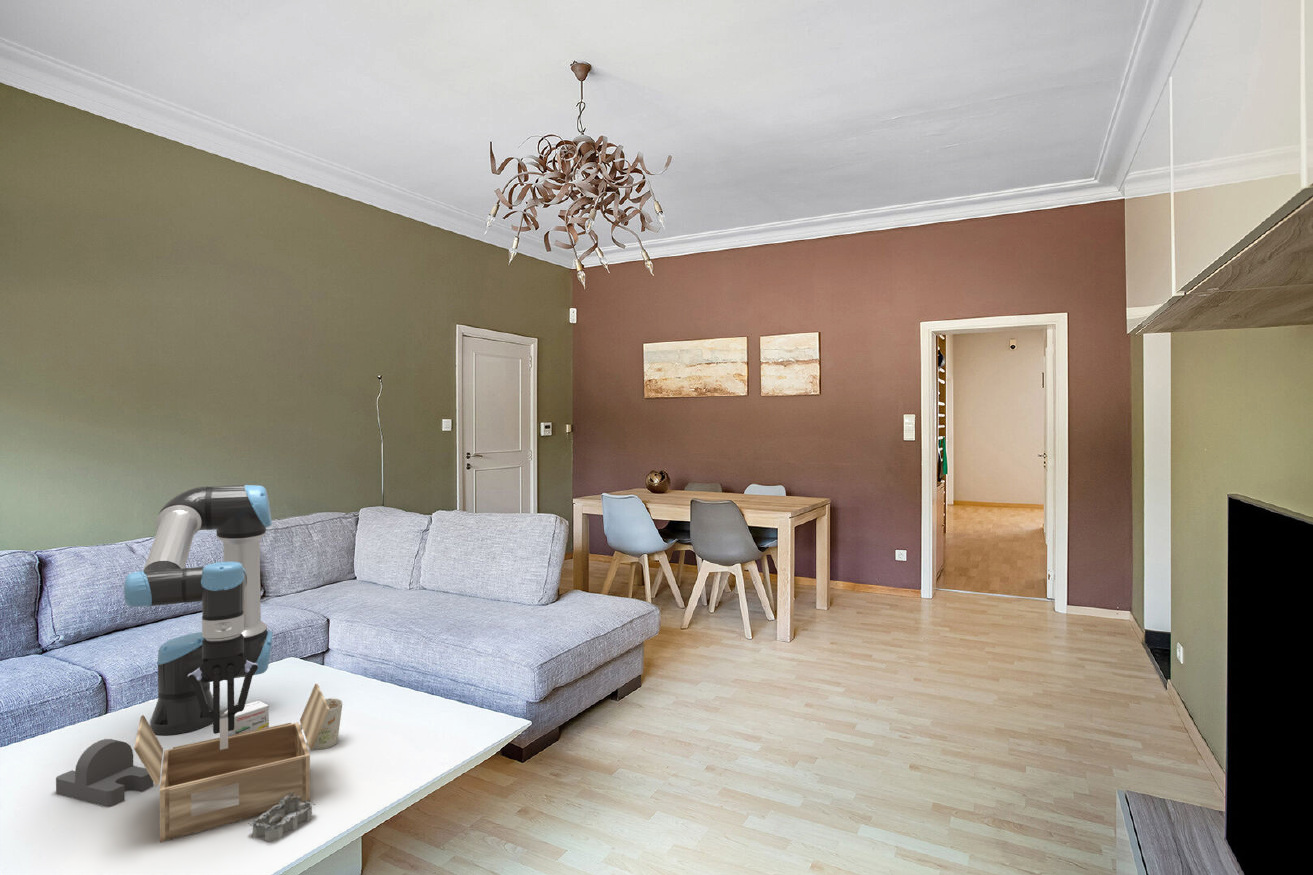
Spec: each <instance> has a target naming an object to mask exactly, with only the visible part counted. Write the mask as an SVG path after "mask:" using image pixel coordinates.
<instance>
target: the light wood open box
mask: <svg viewBox="0 0 1313 875" xmlns="http://www.w3.org/2000/svg"><path fill="white" fill-rule="evenodd" d="M306 742H307V741H306V739H305V738H304V735H303V730H302V731H301V728H300V721H299V722H294V723H292V722H288V723H282V724H277V725H273V726H269V727H268V728H263V729H258V730H253V731H249V732H244V733H239V734H234V735H230V736H228V748H227V749H222V750H220V737H216V738H211V739H206V740H202V741H196V742H192V743H188V744H183V745H177V746H173V747H172V748H171V749H170V748H169V749H163V755H162V764H161V773H160V782H159V785H160V786H159V842H160V843H162V842H166V841H169V840H173V839H177V838H182V837H185V836H189V835H193V834H195V833H200V832H203V831H207V830H210V829H214V828H218V827H222V826H225V825H229V824H233V823H237V822H240V821H241V822H242V821H245V820H249V819H252V818H255V817H259V816H260V815H262V814H263V813H266V812H267V811H268V810H270V809H271V808H272V807H273V806H275V805H277V804H278V803H279V801H280V800H281V799H282V798H283V797H285V796H286V795H288V794H290V793H292V792H294V793H293V794H295V795H296V796H299V797H300V798H301V800H302V802H303V803H305V801H306V800H307V801H308V802H309V803H311V755H310V754H311V753H310V751H309V747H308V746H307V745H306Z"/></svg>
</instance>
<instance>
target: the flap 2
mask: <svg viewBox="0 0 1313 875" xmlns="http://www.w3.org/2000/svg"><path fill="white" fill-rule="evenodd" d="M325 699H326V698H325V696H324V694H323V692H322V690H321V688H320V686H319V683H315V684H314V686H313V688H312V690H311V693H310V695H309V698H308V700H307V702H306V705H305V707H304V709H303V712H302V714H301V716H300V718H299V724H301V726H302V732H303V733H304V736H305V741H306V742H307V743H308V746H307V747H308V750H310V751H313V749H314V748H313V747H314V745H315V742H316V740H317V738H318V735H319V733H320V730H321V728H322V726H323V723H324V721H325V718H326V716H327V714H328V711H329V707H328V705H327V703H326V700H325Z"/></svg>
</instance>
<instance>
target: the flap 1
mask: <svg viewBox="0 0 1313 875" xmlns="http://www.w3.org/2000/svg"><path fill="white" fill-rule="evenodd" d="M133 748H134V749H133V750H134V751H135V753H136V754H137V756H138V758H139V759H140V762H141V763H142V765H143V766H144V768H146V770H147V772H148V773H149V775H150V777H151V778H152V780H153V784H154V785H155V787H158V786H159V785H160V783H161V774H162V765H163V756H164V748H163V747H162V744H161V743H160V741H159V740H158V737H157V736H156V734H154V732H153V730H152V729H151V727H150V723H149V722H148V720H147V719H146V716H145V715H144V714H143V715H140V718H139V723H138V729H137V733H136V737H135V743H134V747H133Z"/></svg>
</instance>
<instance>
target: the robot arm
mask: <svg viewBox="0 0 1313 875" xmlns="http://www.w3.org/2000/svg"><path fill="white" fill-rule="evenodd" d="M268 494H269V493H268V492H267V489H266V487H264V486H263V485H256V484H255V485H250V484H249V485H248V484H239V485H238V484H236V485H235V484H233V485H222V486H221V485H220V486H216V485H215V486H208V485H207V486H198V487H194V488H191V489H187V490H185V491H183V492H181V493H179V494H178V495H176V496H175V497H172V498H171V499H170V500H169V501H168V502H167V503H165V505H163V506H162V508H161V509H160V510H159V513H158V515H157V517H156V521H155V525H156V528H157V531H156V534H155V537H154V540H153V542H152V544H151V548H150V551H149V554H148V556H147V558H146V562H145V564H144V567H143V569H142V570H138V571H135V572H133V571H132V572H130V573H128V574H127V576H126V577H125V579H124V580H125V581H124V587H123V594H124V602H125V604H126V606H128V607H129V608H141V607H147V608H150V607H157V606H164V605H165V606H167V605H176V604H183V603H184V604H185V603H196V602H198V603H199V602H201V605H202V606H201V608H202V609H201V610H202V616H201V631H202V632H200V631H199V632H198V631H197V632H191V633H188V634H184V635H180V636H177V637H174V638H171V639H169V640H167V641H165V642H164V643H163V644H161V645H160V646H159V648H158V652H157V662H156V665H157V702H156V704H155V708H154V711H153V713H152V716H151V718H150V721H149V722H150V723H149V725H150V727H151V729H152V730H153V732H154V734H155V735H161V736H163V735H164V736H169V735H178V734H185V733H188V732H189V733H190V732H193V731H196V730H200V729H202V728H205V727H207V726H210V725H211V724H212V730H213V734H214V735H217V734H219V738H220V750H222V749H227V748H228V731H231V730H234V716H235V714H236V713H238V712H241V711H243V710H244V707H245V705H246V704H247V703H246V702H247V698H248V696H249V691H250V687H251V684H252V680H253V677H254V676H256V675H262V674H264V673H266V671H267V670H268V669H269V665H270V664H269V663H270V658H271V651H272V642H273V637H274V636H273V631H272V630H268V626H267V624H266V623H265V622H263V621H262V620H261V619H262V618H261V615H262V614H261V612H262V611H261V557H260V556H261V555H260V554H261V553H260V552H261V551H260V550H261V548H260V546H261V545H260V543H261V542H260V540H261V538H262V537H264V536H265V535H266V534H267V533H266V532H267V528H270V527H271V526H272V524H273V523H272V514H271V507H270V506H271V505H270V499H269V496H268ZM199 531H216V538H218V539H219V540H220V541H222V544H223V548H222V549H223V550H222V551H223V561H219V562H214V563H212V562H211V563H210V564H207V565H204V566H198V567H196V566H195V567H186V566H187V562H188V557H189V555H190V552H191V551H190V550H191V546H192V543H193V539H194V536H195V535H196V534H197V533H198V532H199ZM240 678H243V682H242V686H241V690H240V694H239V697H238V701H237V704H236V705H235V679H240ZM223 681H227V682H226V683H227V684H226V685H227V686H226V687H227V691H226V692H227V694H226V696H227V699H226V702H227V710H228V713H227V714H224V713H222V714H221V702H220V701H221V690H220V689H221V682H223ZM211 682H212V692H211Z"/></svg>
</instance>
